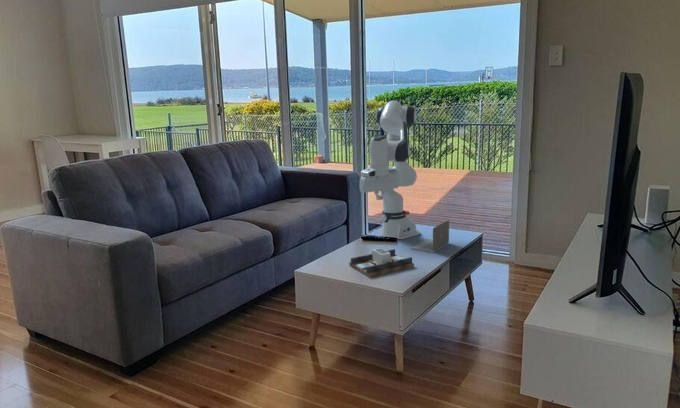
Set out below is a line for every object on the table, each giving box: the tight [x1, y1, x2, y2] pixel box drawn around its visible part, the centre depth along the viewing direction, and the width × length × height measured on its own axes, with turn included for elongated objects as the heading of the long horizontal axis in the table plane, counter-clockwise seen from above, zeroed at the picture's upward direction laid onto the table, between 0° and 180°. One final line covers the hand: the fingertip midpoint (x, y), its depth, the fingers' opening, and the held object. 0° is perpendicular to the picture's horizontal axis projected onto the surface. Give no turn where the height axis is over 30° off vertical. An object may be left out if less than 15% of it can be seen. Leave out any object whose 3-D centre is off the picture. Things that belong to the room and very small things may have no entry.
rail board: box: [348, 248, 415, 278], centre depth 231 cm, size 24×18×4 cm
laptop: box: [411, 219, 450, 254], centre depth 257 cm, size 18×12×13 cm
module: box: [371, 247, 391, 264], centre depth 230 cm, size 4×9×5 cm, turn 25°
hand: (379, 199), depth 236 cm, fingers closed
